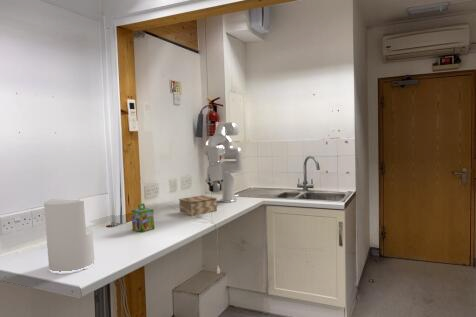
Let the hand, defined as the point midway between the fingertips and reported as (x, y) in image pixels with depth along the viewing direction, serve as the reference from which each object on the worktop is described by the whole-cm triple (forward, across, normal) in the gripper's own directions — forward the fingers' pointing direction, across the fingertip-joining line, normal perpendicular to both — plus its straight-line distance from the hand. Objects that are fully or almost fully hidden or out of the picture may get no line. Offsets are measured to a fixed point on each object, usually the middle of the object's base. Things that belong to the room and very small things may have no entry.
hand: (215, 190), depth 235 cm
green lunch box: (+15, +54, +1) cm, 56 cm away
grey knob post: (+1, 0, 0) cm, 1 cm away
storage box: (+15, +6, -12) cm, 21 cm away
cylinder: (+15, +100, +32) cm, 106 cm away
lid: (+7, +6, -12) cm, 16 cm away
